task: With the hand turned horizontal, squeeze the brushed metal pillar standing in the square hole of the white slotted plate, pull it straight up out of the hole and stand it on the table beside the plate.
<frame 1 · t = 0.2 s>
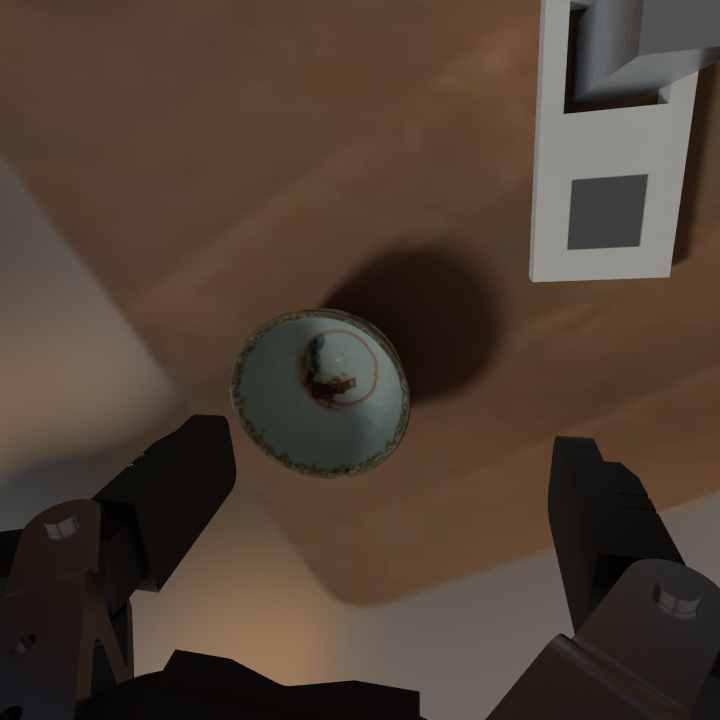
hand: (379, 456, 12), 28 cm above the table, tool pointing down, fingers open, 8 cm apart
brushed metal pillar: (647, 30, 25), in the white slotted plate
bowl: (341, 362, 42), on the table
white slotted plate: (610, 60, 31), on the table
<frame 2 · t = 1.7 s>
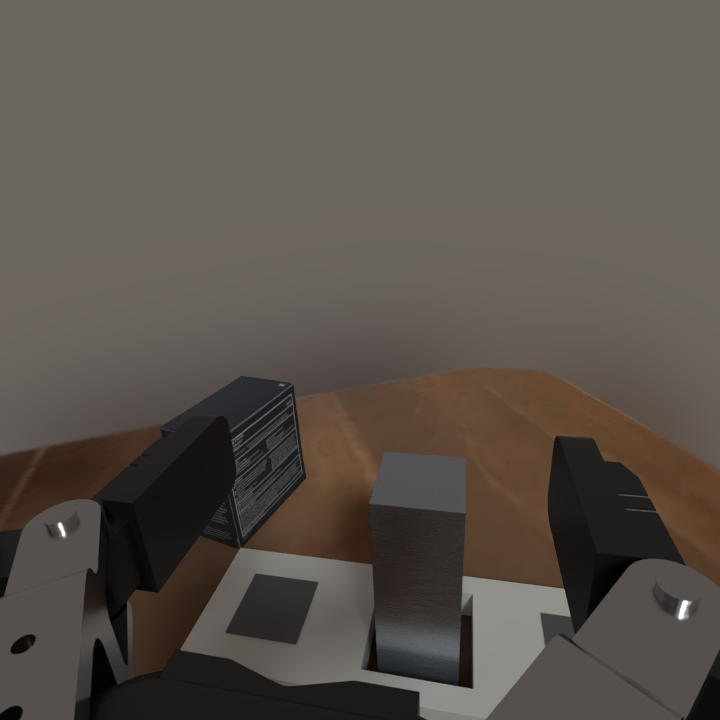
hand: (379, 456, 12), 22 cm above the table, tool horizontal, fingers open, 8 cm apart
brushed metal pillar: (420, 573, 27), in the white slotted plate
small box: (249, 503, 44), on the table
white slotted plate: (420, 651, 30), on the table
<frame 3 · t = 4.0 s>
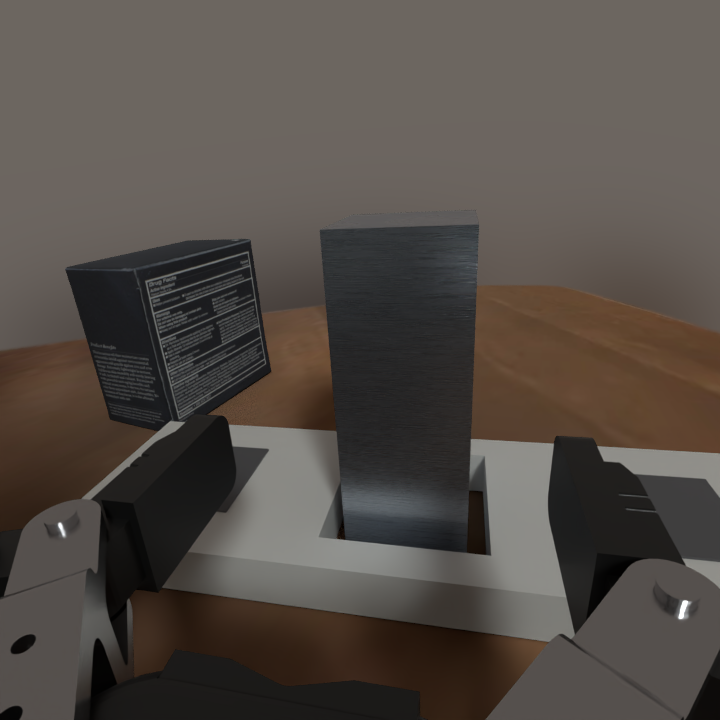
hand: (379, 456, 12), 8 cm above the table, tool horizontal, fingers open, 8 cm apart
brushed metal pillar: (408, 395, 18), in the white slotted plate
small box: (197, 396, 35), on the table
white slotted plate: (411, 530, 21), on the table
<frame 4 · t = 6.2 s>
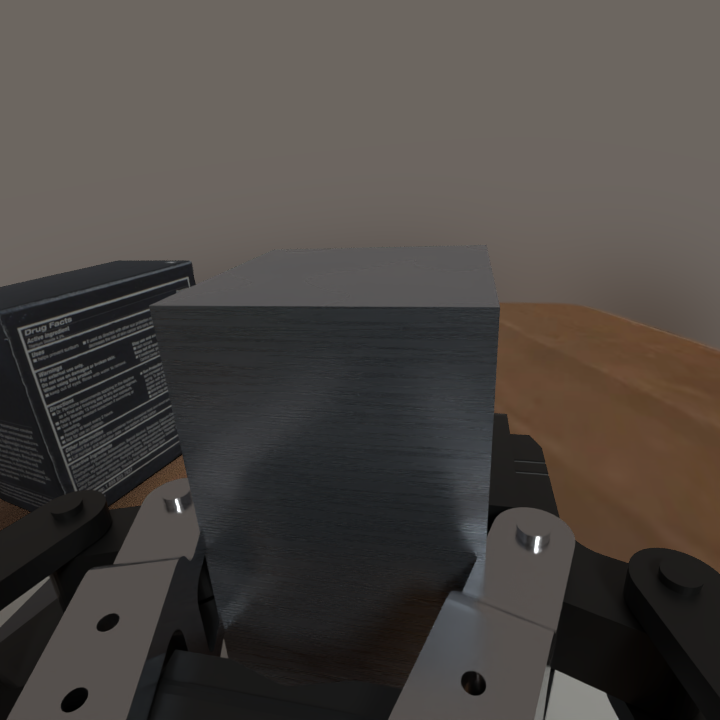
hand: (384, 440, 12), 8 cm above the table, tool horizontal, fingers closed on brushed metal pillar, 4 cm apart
brushed metal pillar: (368, 563, 11), in the white slotted plate, touching gripper
small box: (124, 460, 27), on the table
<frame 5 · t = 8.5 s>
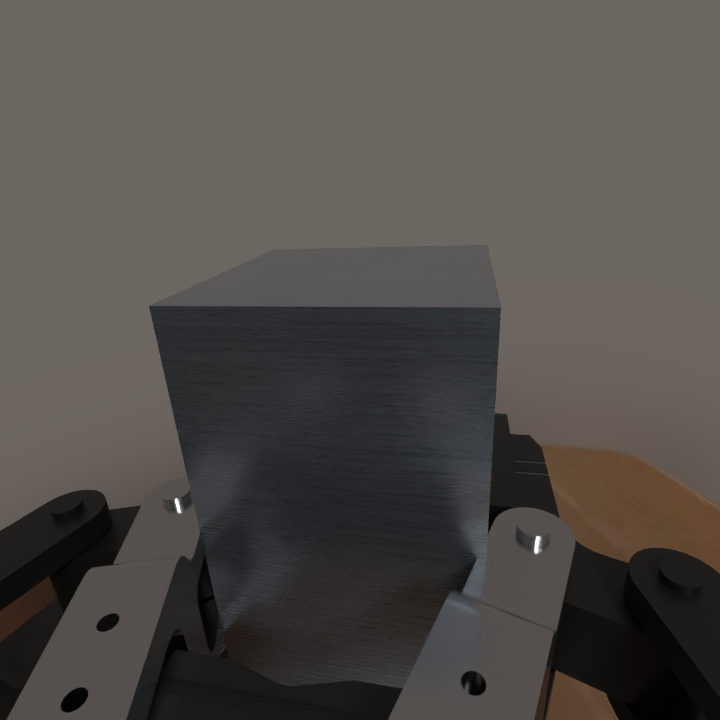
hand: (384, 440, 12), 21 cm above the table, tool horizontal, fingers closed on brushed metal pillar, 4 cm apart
brushed metal pillar: (369, 564, 10), point 19 cm above the table, touching gripper
when the fingers open (9 cm above the table, at t = 11.2 s): brushed metal pillar drops 1 cm, on the table.
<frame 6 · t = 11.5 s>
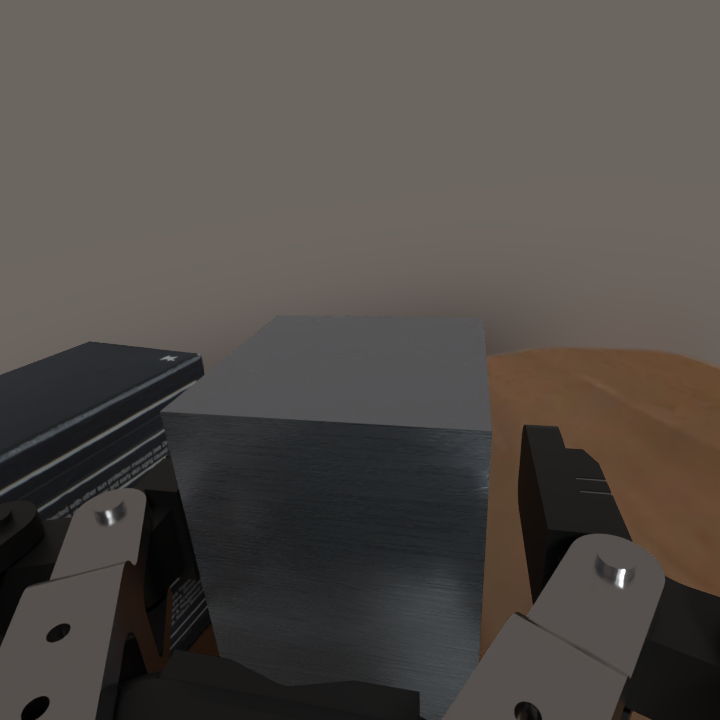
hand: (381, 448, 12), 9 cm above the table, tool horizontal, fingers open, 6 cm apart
brushed metal pillar: (369, 619, 11), on the table
small box: (97, 658, 18), on the table
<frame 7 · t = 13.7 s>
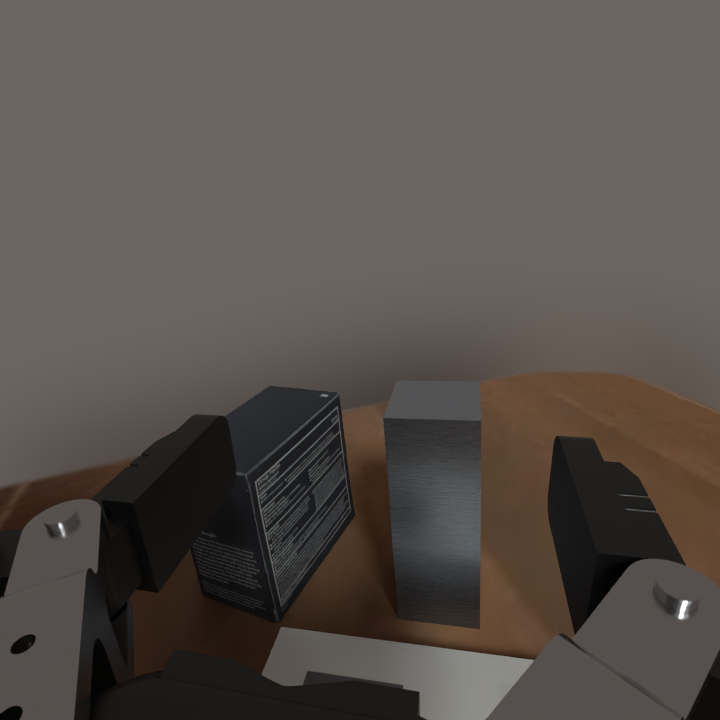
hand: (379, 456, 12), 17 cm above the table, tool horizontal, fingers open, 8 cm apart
brushed metal pillar: (437, 503, 27), on the table
small box: (284, 553, 34), on the table
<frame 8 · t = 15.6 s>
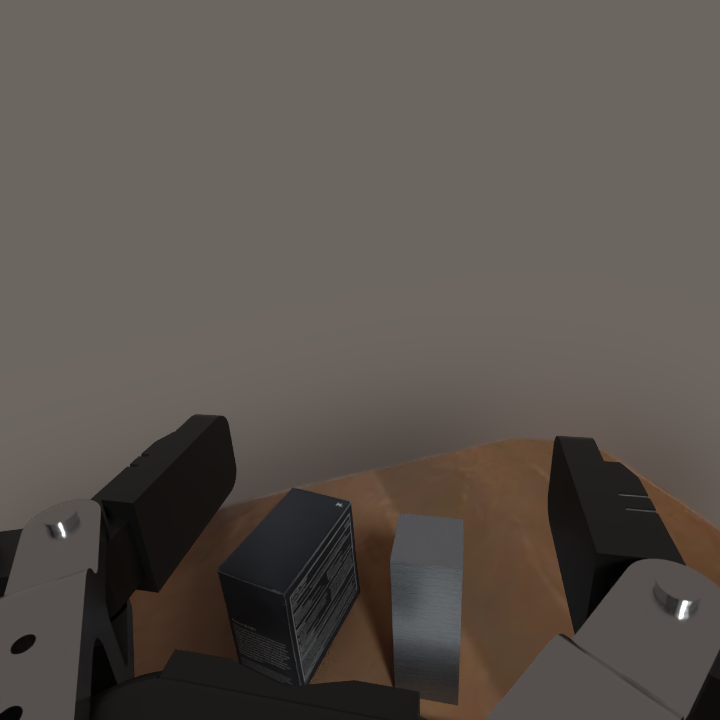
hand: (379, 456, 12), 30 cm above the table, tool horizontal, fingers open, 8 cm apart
brushed metal pillar: (428, 608, 35), on the table
small box: (303, 627, 42), on the table
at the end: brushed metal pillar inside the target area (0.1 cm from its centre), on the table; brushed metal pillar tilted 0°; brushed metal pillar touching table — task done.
